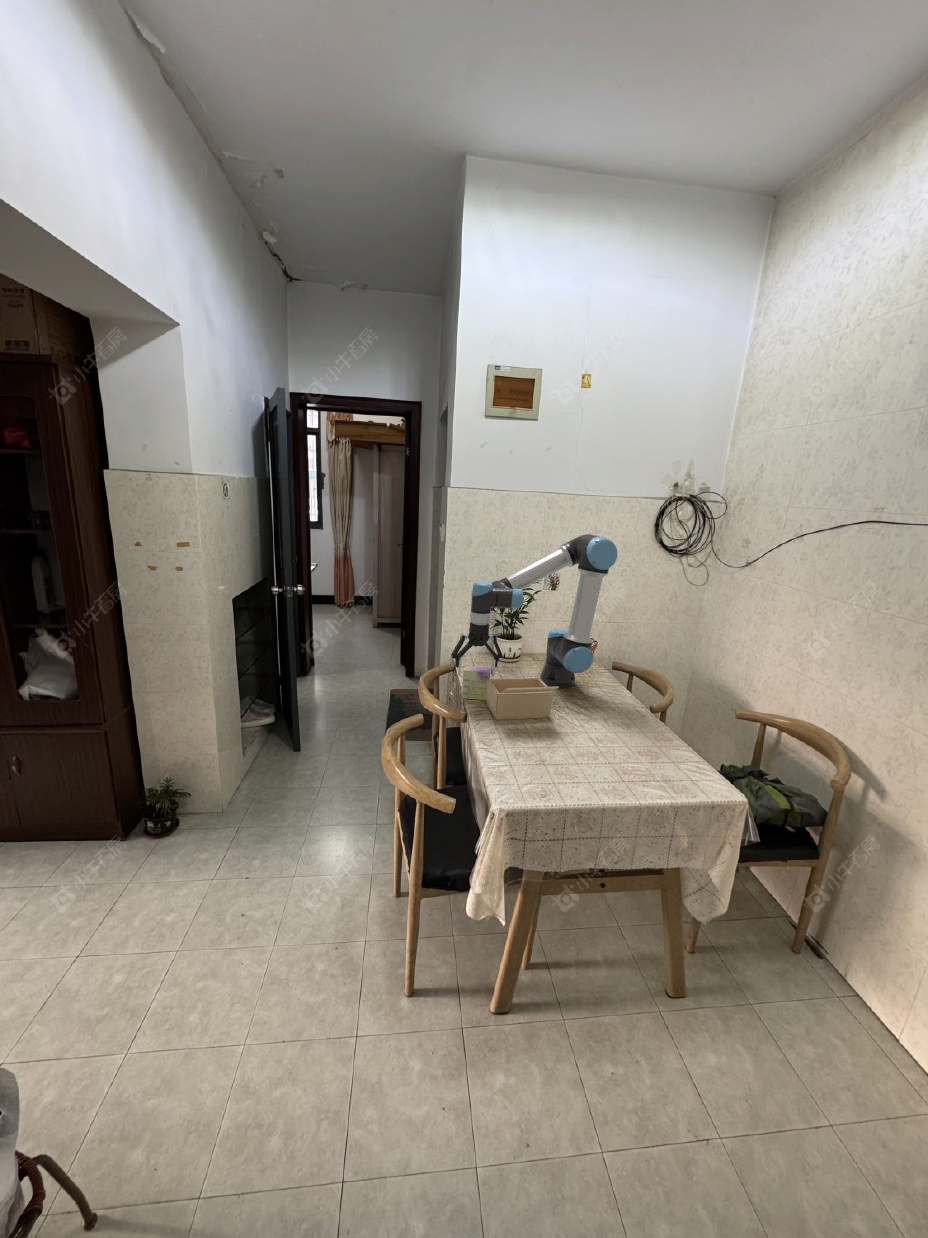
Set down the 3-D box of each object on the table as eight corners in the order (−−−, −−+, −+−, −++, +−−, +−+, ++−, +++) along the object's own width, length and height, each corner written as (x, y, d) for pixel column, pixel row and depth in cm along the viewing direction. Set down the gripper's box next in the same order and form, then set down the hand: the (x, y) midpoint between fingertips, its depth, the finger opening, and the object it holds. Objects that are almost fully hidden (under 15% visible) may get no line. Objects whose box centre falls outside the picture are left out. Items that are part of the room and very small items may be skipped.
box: (488, 695, 201) (490, 667, 198) (488, 701, 195) (489, 672, 192) (463, 693, 201) (464, 665, 198) (461, 698, 196) (463, 670, 193)
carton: (537, 701, 197) (539, 677, 194) (550, 717, 183) (553, 692, 181) (485, 703, 192) (486, 679, 190) (495, 720, 179) (496, 694, 176)
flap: (558, 686, 173) (559, 687, 173) (550, 690, 180) (550, 691, 180) (507, 688, 169) (507, 689, 169) (501, 692, 176) (501, 693, 176)
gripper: (508, 620, 197) (503, 671, 202) (445, 619, 191) (442, 671, 197) (513, 625, 190) (508, 677, 195) (449, 624, 184) (446, 678, 190)
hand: (475, 674), depth 196 cm, fingers open, 13 cm apart
